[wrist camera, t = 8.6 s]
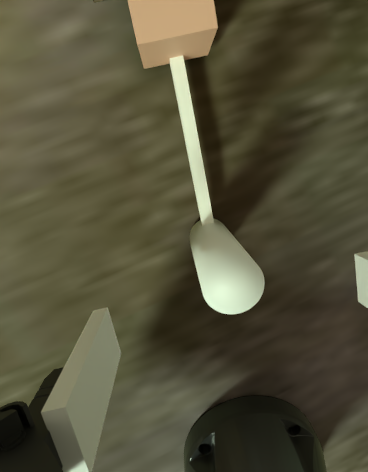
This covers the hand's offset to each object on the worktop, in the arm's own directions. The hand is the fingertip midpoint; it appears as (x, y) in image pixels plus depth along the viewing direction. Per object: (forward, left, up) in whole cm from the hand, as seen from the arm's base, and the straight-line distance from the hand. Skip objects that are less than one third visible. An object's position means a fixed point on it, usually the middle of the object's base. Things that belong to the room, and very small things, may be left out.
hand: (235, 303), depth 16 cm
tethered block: (+9, 0, -12) cm, 16 cm away
